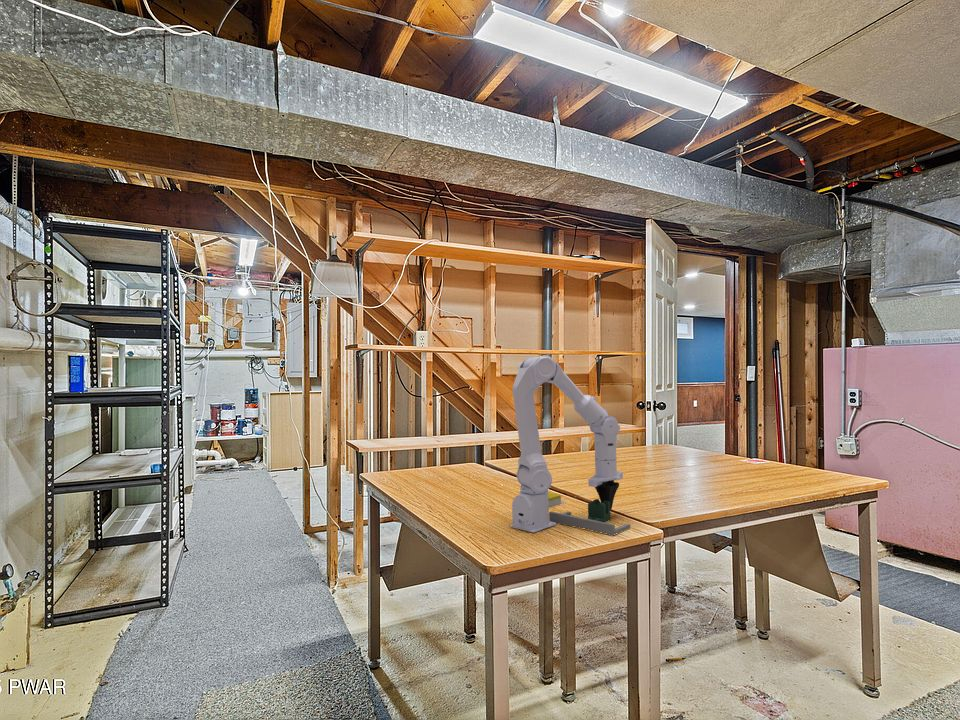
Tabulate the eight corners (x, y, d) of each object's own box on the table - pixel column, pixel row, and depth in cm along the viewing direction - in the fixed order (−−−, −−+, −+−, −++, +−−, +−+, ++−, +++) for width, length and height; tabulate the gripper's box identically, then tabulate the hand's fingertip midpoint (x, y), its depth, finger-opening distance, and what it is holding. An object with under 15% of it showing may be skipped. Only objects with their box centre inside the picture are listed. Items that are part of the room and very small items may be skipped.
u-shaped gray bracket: (612, 536, 123) (612, 525, 123) (549, 521, 136) (549, 512, 136) (630, 528, 129) (630, 518, 129) (567, 514, 142) (567, 505, 142)
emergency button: (510, 493, 154) (544, 485, 163) (510, 507, 153) (544, 499, 163) (532, 498, 147) (567, 489, 156) (533, 513, 146) (567, 504, 156)
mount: (598, 526, 131) (598, 506, 131) (582, 523, 133) (582, 504, 134) (615, 516, 140) (614, 498, 140) (600, 514, 142) (599, 496, 142)
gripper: (604, 464, 132) (606, 517, 131) (632, 457, 142) (633, 506, 141) (581, 461, 137) (582, 512, 136) (609, 454, 147) (610, 502, 146)
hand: (607, 509), depth 139 cm, fingers closed
